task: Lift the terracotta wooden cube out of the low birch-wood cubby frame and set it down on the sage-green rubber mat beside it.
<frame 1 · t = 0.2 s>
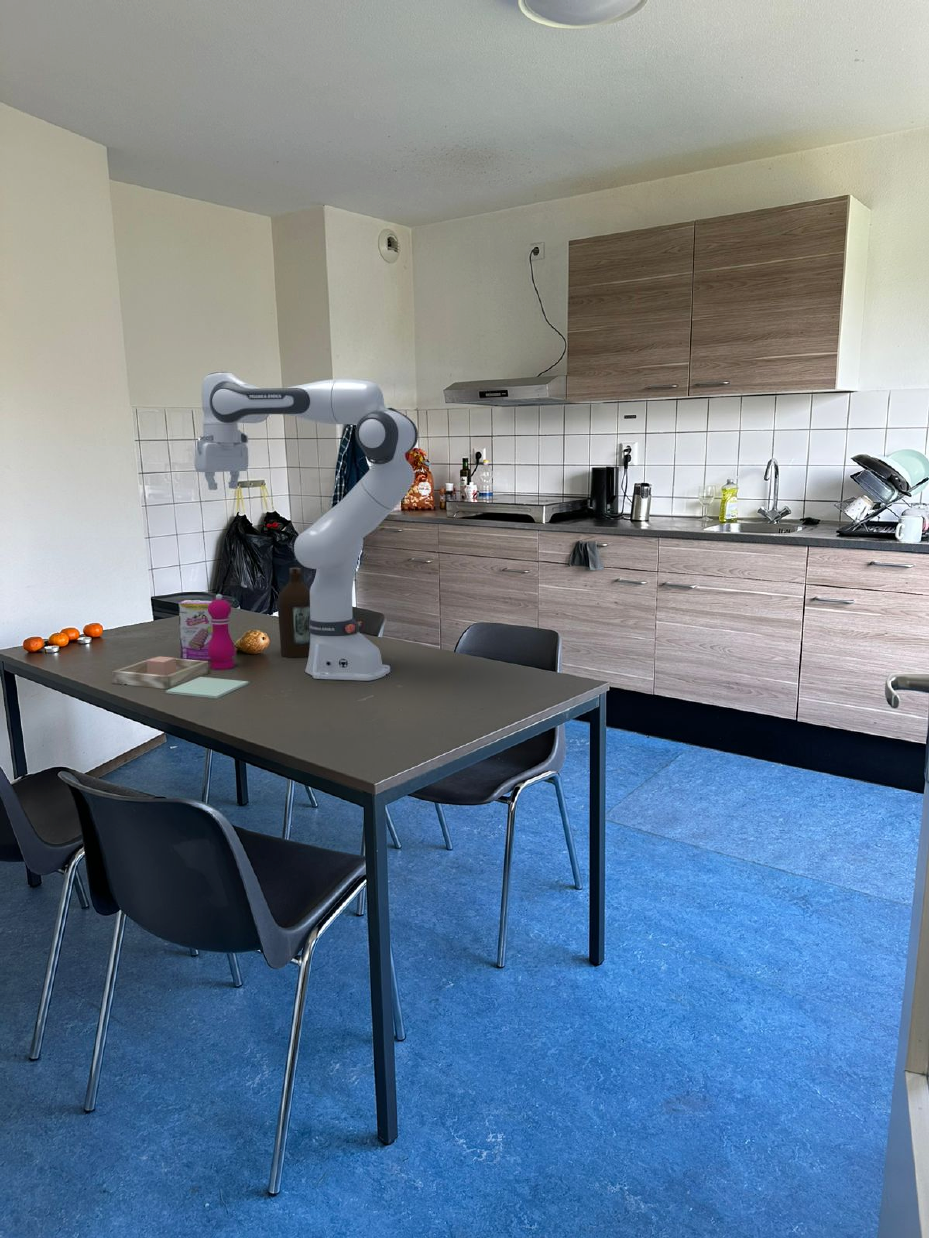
hand: (223, 489, 231), 47 cm above the table, fingers open, 8 cm apart
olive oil: (297, 655, 250), on the table
candy bar box: (203, 659, 243), on the table
cube: (162, 678, 223), resting in cubby frame
cubby frame: (162, 677, 223), on the table
pepper mill: (222, 667, 234), on the table
mat: (208, 688, 213), on the table
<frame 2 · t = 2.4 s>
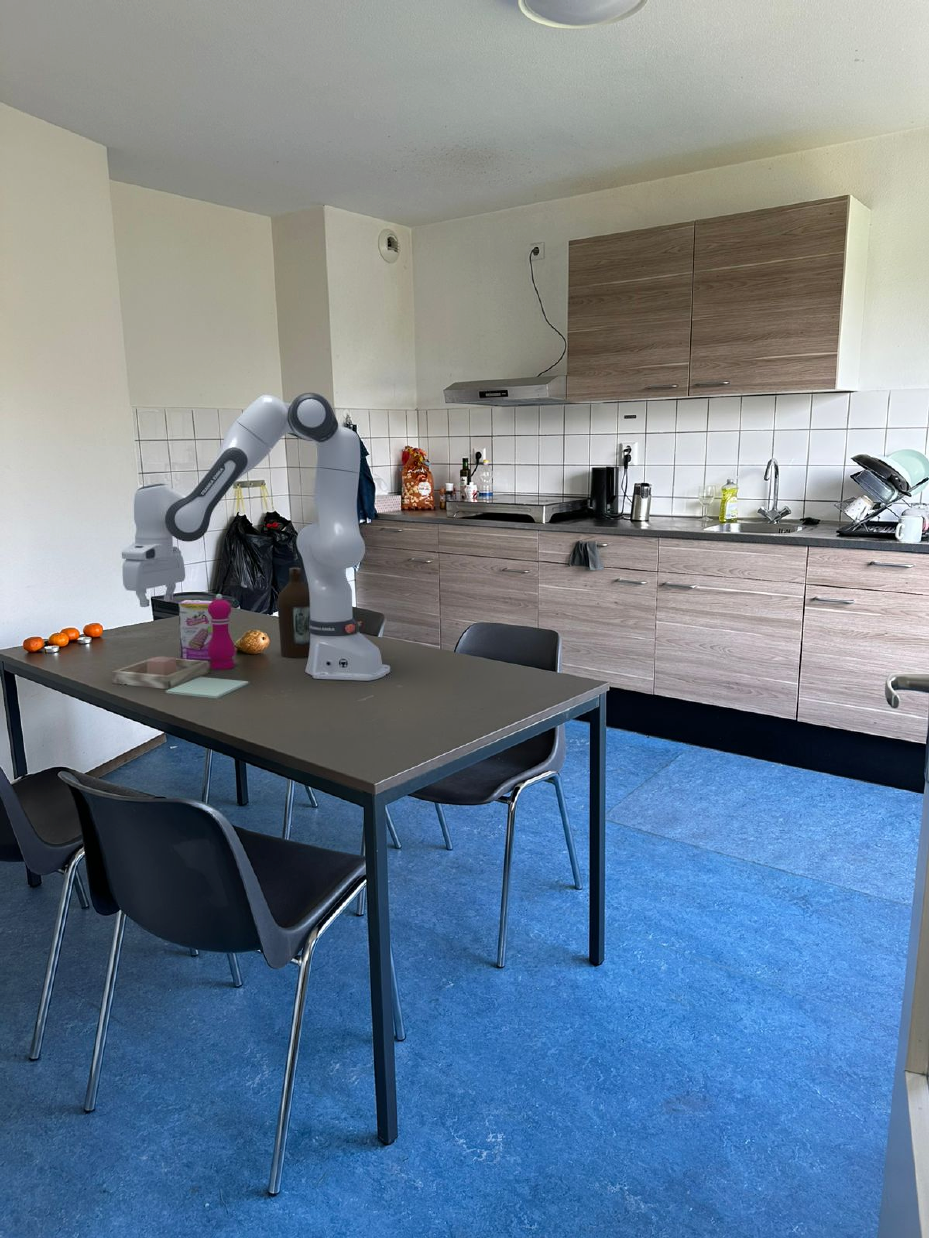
hand: (156, 603, 219), 19 cm above the table, fingers open, 8 cm apart
nothing on the table moved.
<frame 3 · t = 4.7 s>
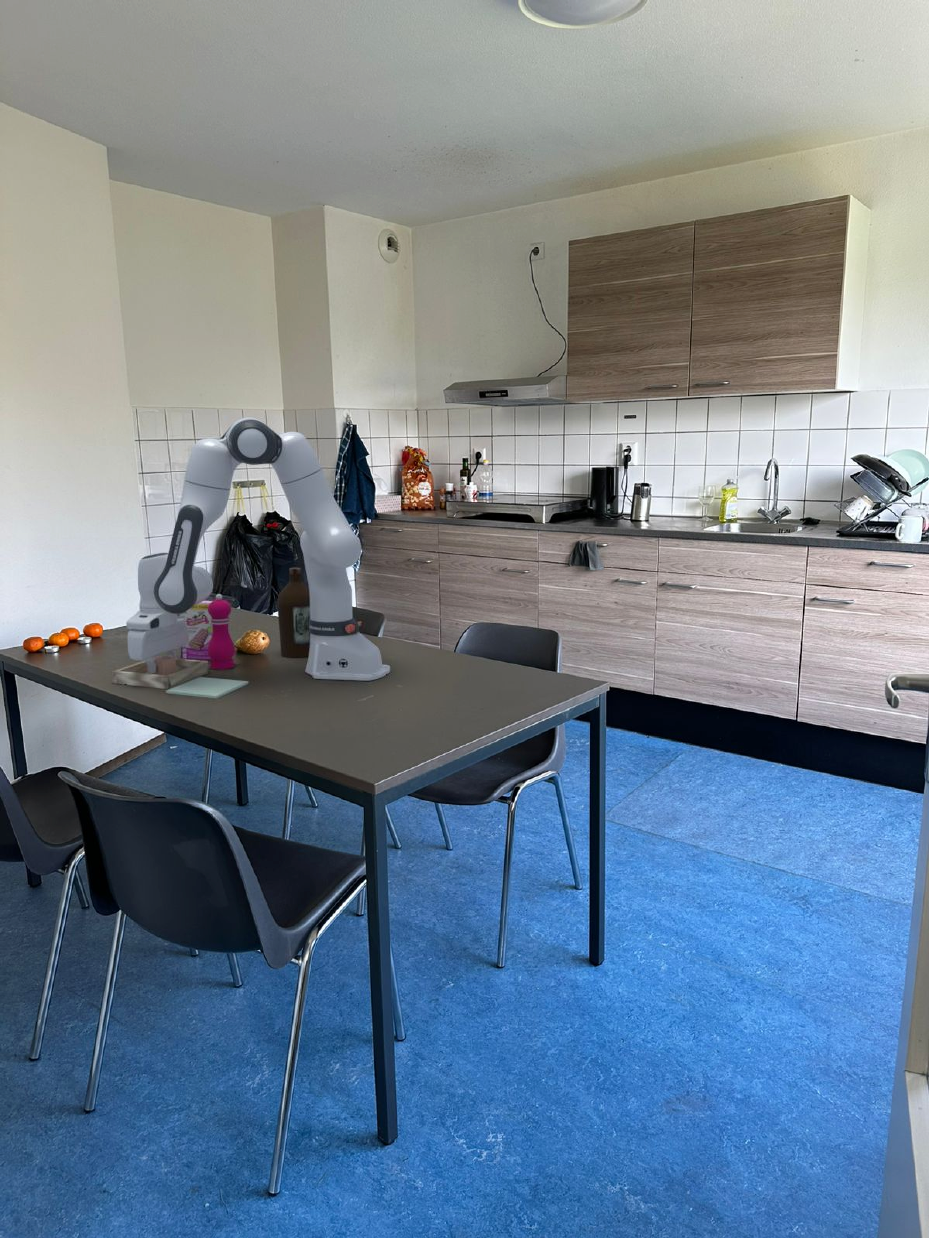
hand: (161, 669, 222), 2 cm above the table, fingers closed on cube, 5 cm apart
cube: (162, 677, 223), resting in cubby frame, touching gripper
everything else where it was.
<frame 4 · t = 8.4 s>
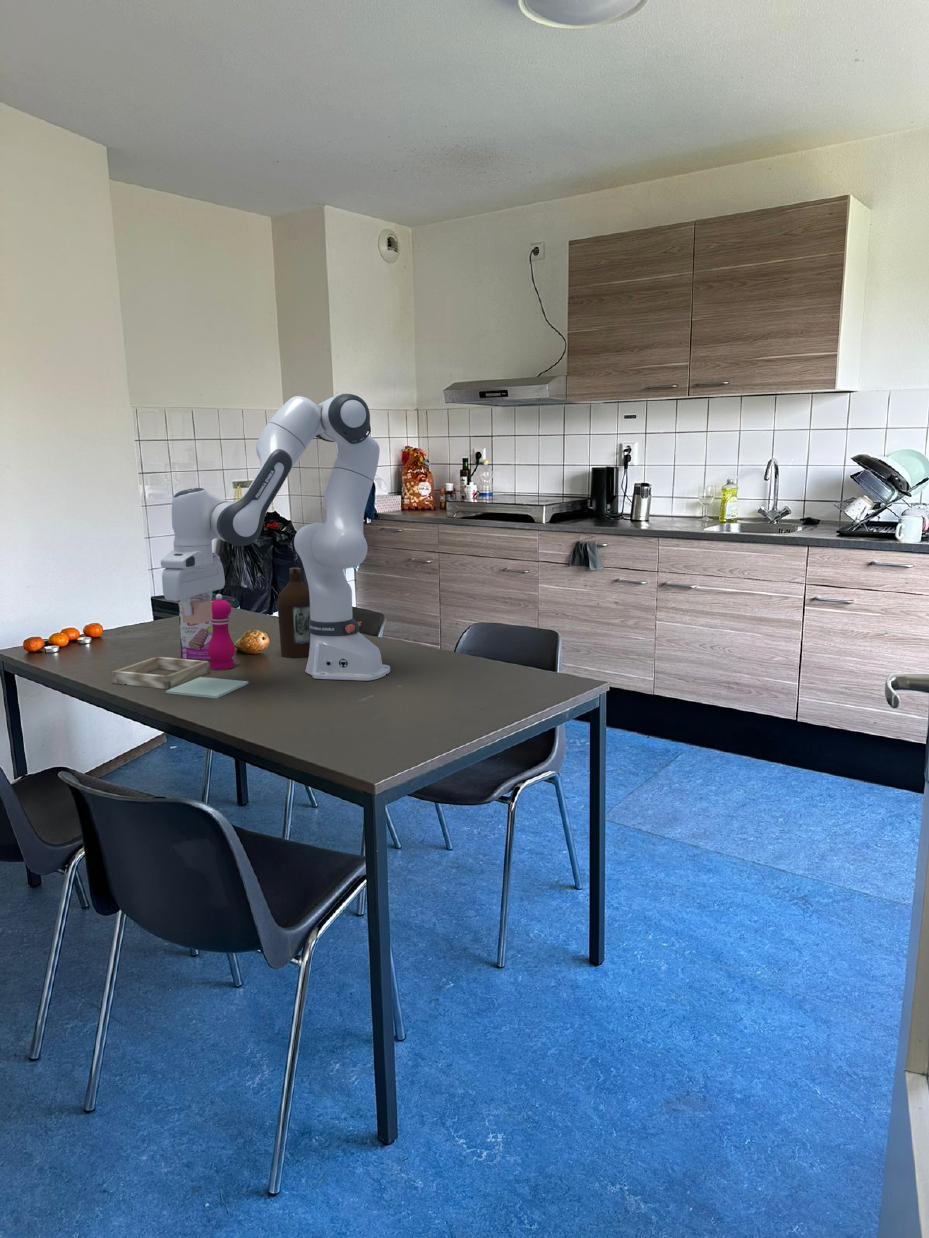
hand: (197, 612, 211), 19 cm above the table, fingers closed on cube, 5 cm apart
cube: (197, 621, 212), point 16 cm above the table, touching gripper
everything else where it was.
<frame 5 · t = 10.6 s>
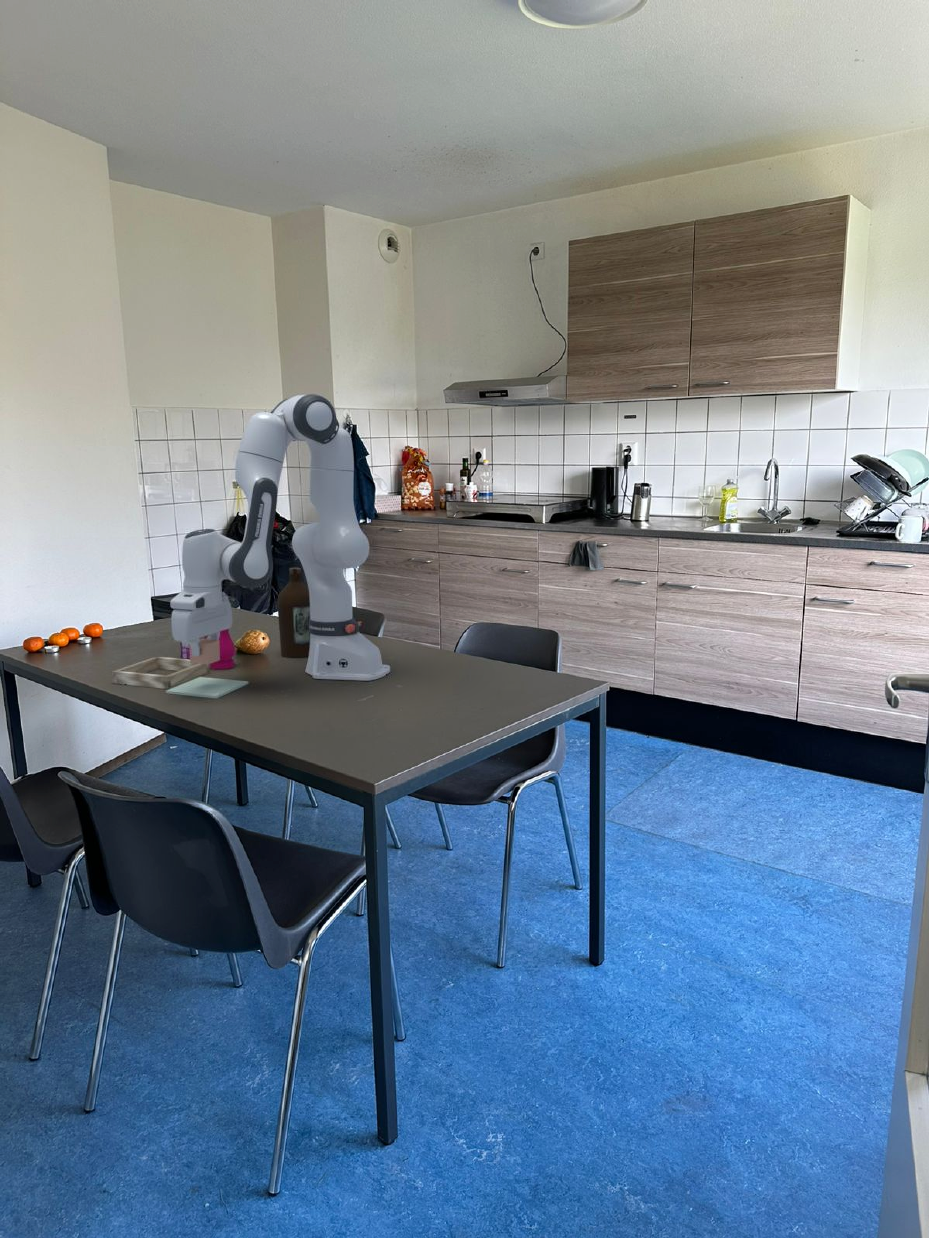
hand: (205, 652, 211), 9 cm above the table, fingers closed on cube, 5 cm apart
cube: (205, 661, 212), point 7 cm above the table, touching gripper
everything else where it was.
when the fingers open (5 cm above the table, at t = 12.3 s): cube drops 2 cm, resting on mat.
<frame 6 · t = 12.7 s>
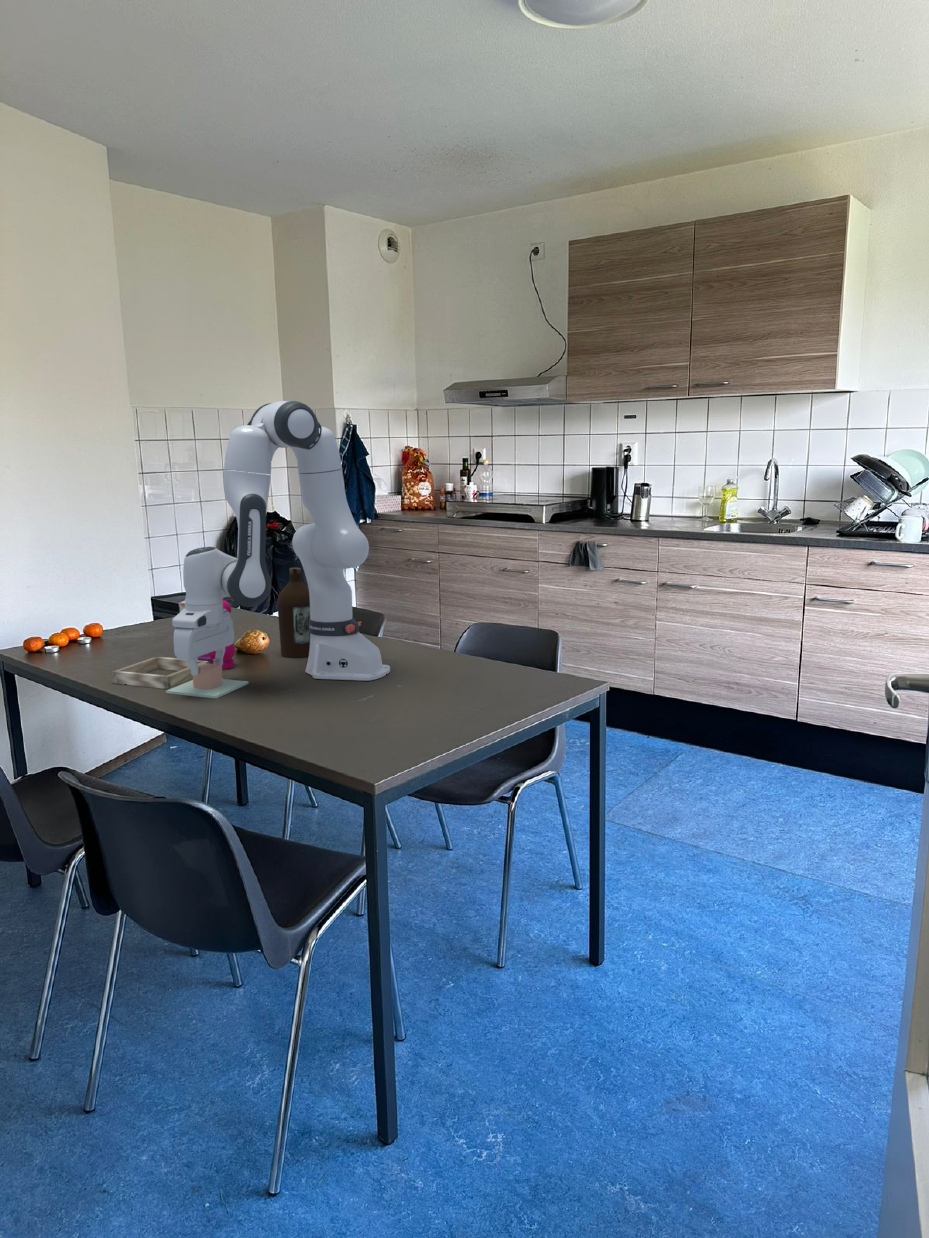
hand: (207, 669, 212), 5 cm above the table, fingers open, 8 cm apart
cube: (208, 686, 213), point 1 cm above the table, touching mat
everything else where it was.
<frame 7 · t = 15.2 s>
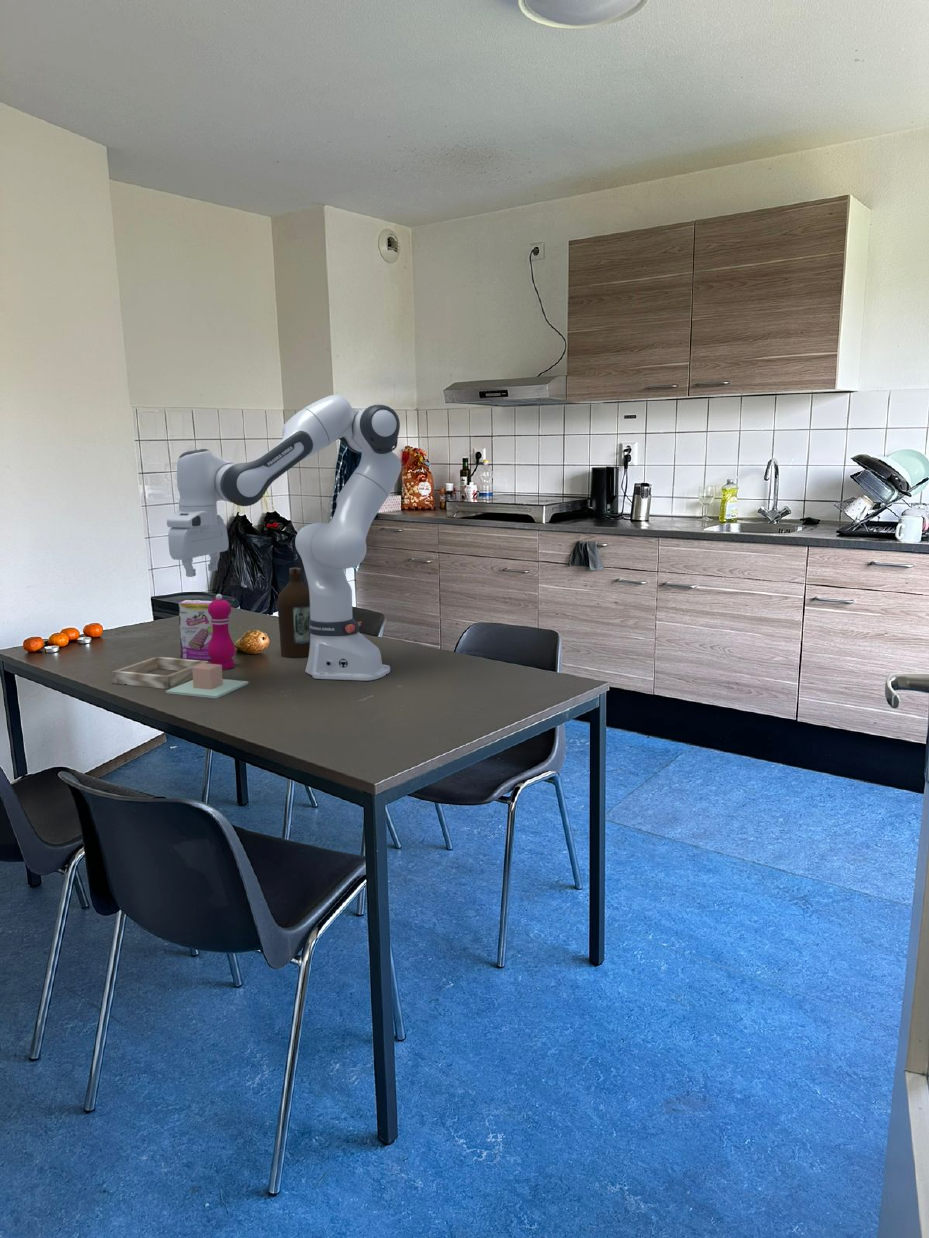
hand: (202, 573, 213), 28 cm above the table, fingers open, 8 cm apart
nothing on the table moved.
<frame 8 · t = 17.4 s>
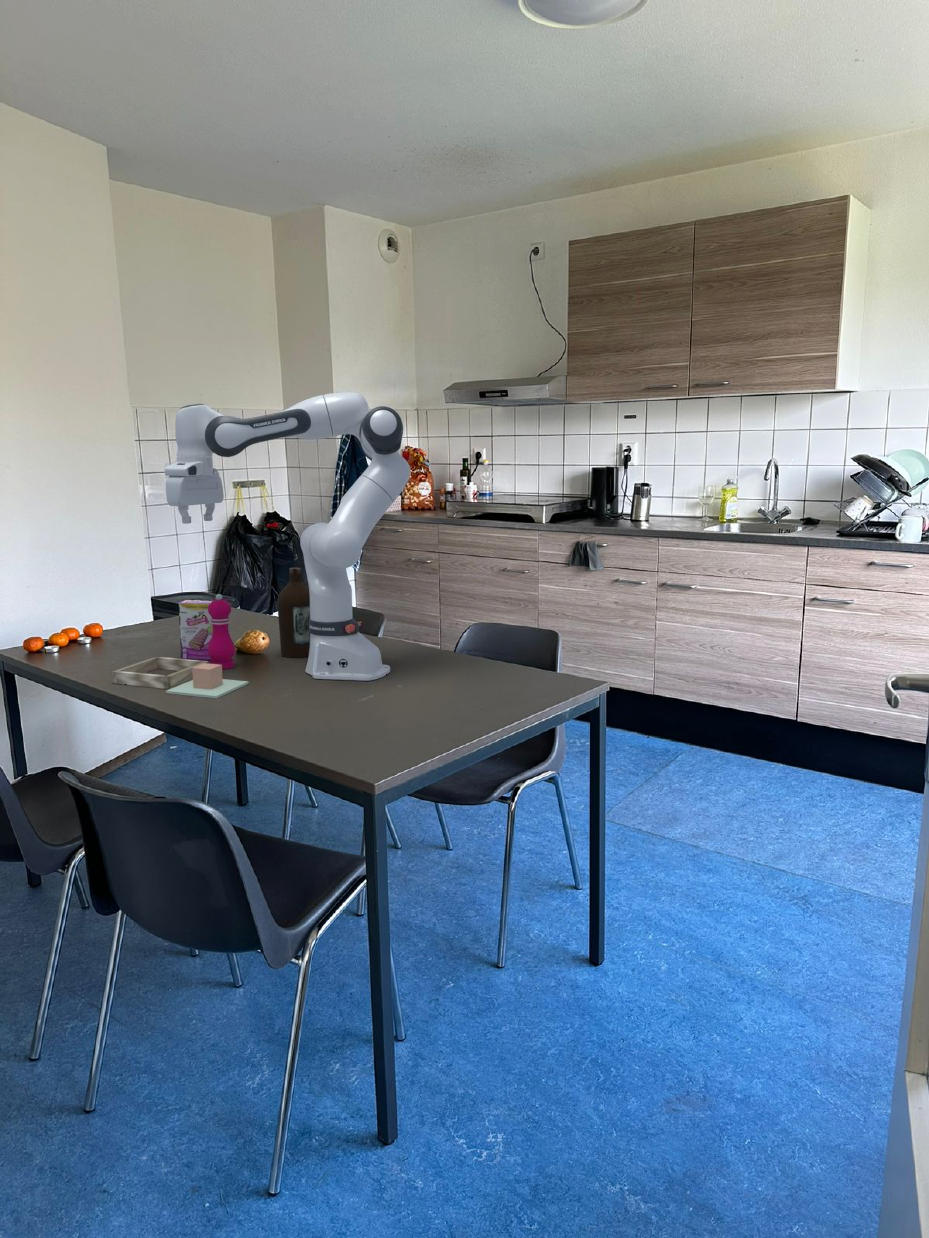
hand: (197, 522, 226), 39 cm above the table, fingers open, 8 cm apart
nothing on the table moved.
at the end: cube inside the target area on the mat (0.0 cm from its centre), point 0.6 cm above the mat's base; cube tilted 0°; the gripper is holding nothing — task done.
